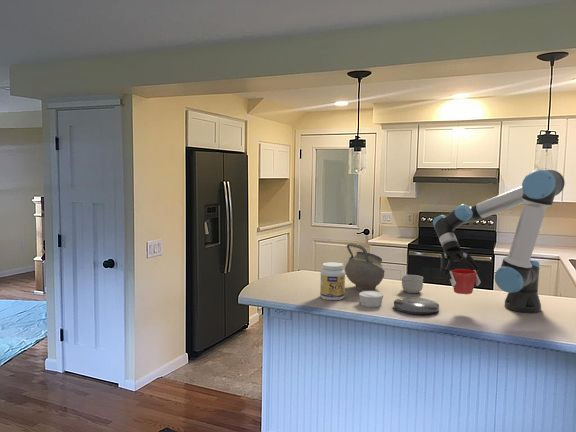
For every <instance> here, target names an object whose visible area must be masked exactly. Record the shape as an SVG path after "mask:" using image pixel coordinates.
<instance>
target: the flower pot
mask: <svg viewBox="0 0 576 432" xmlns="http://www.w3.org/2000/svg"><path fill="white" fill-rule="evenodd" d="M450 271H452V274H453V276H454V279H455V281H456V285H455V286H454V287H452V288H453V292H454V293H455V294H458V295H459V294H460V295H470V294H472V293H474V286H475V284H476V283H475V279H476V273H477V272H478V271H477V272H476V271H473V270H469V269H468V268H467V269H466V268H454V269H450Z"/></svg>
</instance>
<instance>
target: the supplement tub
mask: <svg viewBox="0 0 576 432" xmlns="http://www.w3.org/2000/svg"><path fill="white" fill-rule="evenodd" d="M321 268H322V269H321V270H320V287H319V288H320V291H319V292H320V293H319V295H320V298H322V299H323V300H325V301H326V300H327V301H340V300H342V299H344V298H345V296H346V294H345V293H346V289H345V288H346V287H345V285H346V272H345V267H344V263H341V262H336V261H335V262H333V261H332V262H330V261H329V262H323V263H322V266H321Z"/></svg>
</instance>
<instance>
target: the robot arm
mask: <svg viewBox="0 0 576 432" xmlns="http://www.w3.org/2000/svg"><path fill="white" fill-rule="evenodd" d="M565 185H566V182H565V178H564V176H563V174H562V173H561V172H559V171H558V170H554V169H542V168H541V169H536V170H532V171H531V172H529V173H528V174H527V175H525V176H524V178H523V180H522V183H521V186H519V187H516V188H514V189H510V190H509V191H506V192H503V193H501V194H498V195H495V196H494V197H491V198H489V199H486V200H483V201H480V202H478V203H476V204H473V205H471V206H469V205H467V204H465V203H462V204H459V206H457V207H455V209H453V210H452V211H451V212H450V213H448V214H447V215H444V214H441V215H439V216H436V217H435V218H434V219H433V220H432V225H433V228H434V230H435V233H436V235H437V237H438V240H439V243H440V244H441V245H440V246H441V248H442V250H443V252H441V253H440V254H439V258H440V273H441V274H443V275H445V276H446V278H447V280H449V281H450V285H451V286H452V288H453V287H454V286H455V285H456V281H455V279H454V276H453V274H452V271H451V266H452V263H460V264H463V265H464V267H466V268H467V269H468V270H473V271H476V272H477V273H476V279H475V283H474V284H475V285H476V286H477V287H478V286H479V285H480V284H481V279H480V278H479V277H480V274H479V270H480V269H481V267H480V265H479V264H478V263H477V262H476V261H475V260H474V258H473V257H472V256H471V254H470V252H469V251H466V252H463V251H462V249H461V246H460V244H459V241H458V239H457V237H456V234H455V232H454V231H455V230H456V229H458V228H459V227H461V225H463V224H469V223H476V222H478V221H481V220H483V219H486V218H488V217H490V216H492V215H496V214H498V213H501V212H504V211H506V210H509V209H512V208H515V207H517V206H519V205H523V206H522V209H521V212H520V216H519V219H518V223H517V226H516V229H515V232H514V235H513V239H512V242H511V246H510V248H509V252H508V255H506V256H504V257H503V258H502V261H501V266H500V267H499V268H498V269H497V270H496V271H495V273H494V282H495V284H496V286H497V287H498V288H499V289H500V290H501V291H503V292H505V293H507V295H506V297H505V300H504V308H506V309H507V310H511V311H515V312H519V313H527V314H529V313H531V314H534V313H535V314H536V313H539V312H541V311H542V304H541V300H540V296H539V293H538V292H539V278H540V277H539V276H540V269H541V268H540V262H539V261H538V260H537V259H531V258H532V255H533V252H534V249H535V246H536V242H537V239H538V237H539V233H540V229H541V226H542V224H543V219H544V218H545V215H546V211H547V208H549V207H551V206H553V203H554V199H555V197H556V196H558V195H559V194H560V193H561V192H562V191H563V190H564V188H565ZM446 259H448V261H447V265H446Z"/></svg>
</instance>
